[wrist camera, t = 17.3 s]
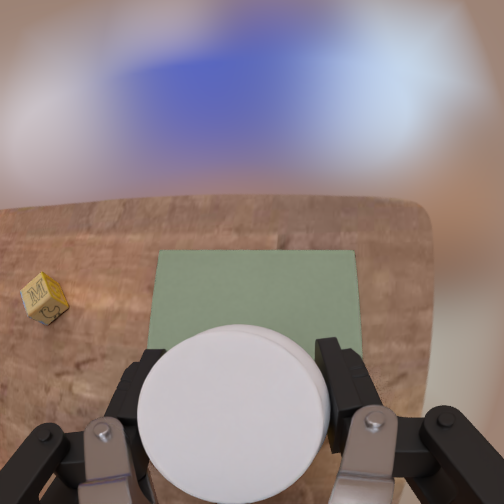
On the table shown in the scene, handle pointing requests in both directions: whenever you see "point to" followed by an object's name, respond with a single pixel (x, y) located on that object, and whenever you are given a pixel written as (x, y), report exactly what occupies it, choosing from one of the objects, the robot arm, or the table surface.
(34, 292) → the alphabet block
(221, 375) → the supplement bottle
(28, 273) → the table surface
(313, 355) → the mat
